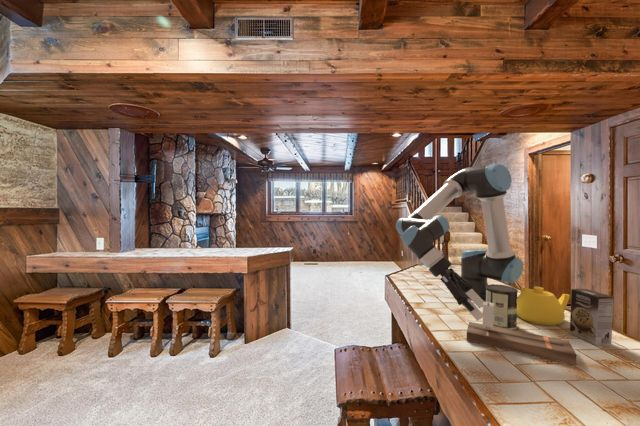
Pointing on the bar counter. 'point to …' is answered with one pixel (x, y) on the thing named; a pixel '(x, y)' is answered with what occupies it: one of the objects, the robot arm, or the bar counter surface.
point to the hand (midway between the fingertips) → (481, 311)
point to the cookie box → (591, 316)
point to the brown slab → (522, 342)
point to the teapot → (541, 306)
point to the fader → (488, 314)
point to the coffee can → (503, 305)
